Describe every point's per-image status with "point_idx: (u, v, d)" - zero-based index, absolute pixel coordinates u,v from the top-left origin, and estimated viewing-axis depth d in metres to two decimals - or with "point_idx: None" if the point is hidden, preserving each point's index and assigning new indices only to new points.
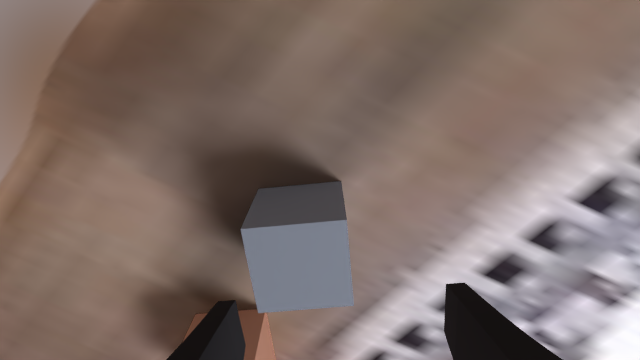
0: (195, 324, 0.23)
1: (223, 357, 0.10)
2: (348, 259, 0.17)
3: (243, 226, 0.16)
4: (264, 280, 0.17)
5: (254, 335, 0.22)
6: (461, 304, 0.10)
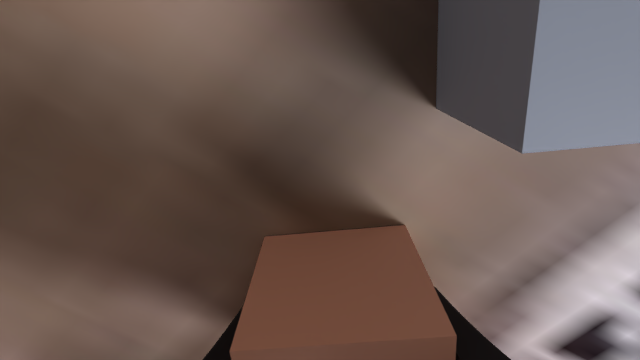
0: (269, 252, 0.11)
1: None
2: None
3: None
4: (578, 25, 0.05)
5: (411, 267, 0.10)
6: None
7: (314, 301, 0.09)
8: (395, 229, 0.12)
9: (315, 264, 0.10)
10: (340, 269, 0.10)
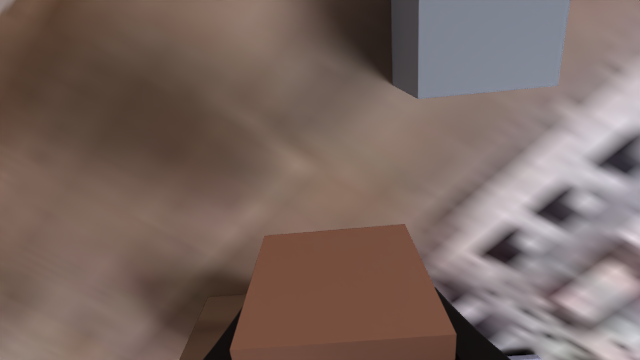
0: (269, 252, 0.11)
1: None
2: None
3: None
4: (436, 37, 0.12)
5: (411, 266, 0.10)
6: None
7: (314, 300, 0.09)
8: (395, 228, 0.12)
9: (315, 263, 0.10)
10: (340, 268, 0.10)
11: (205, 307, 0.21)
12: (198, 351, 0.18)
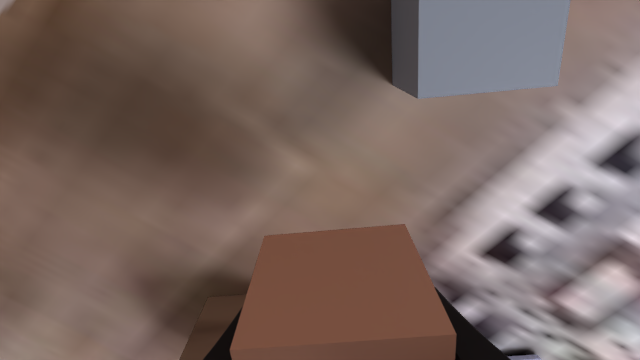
0: (269, 252, 0.11)
1: None
2: None
3: None
4: (436, 37, 0.12)
5: (411, 266, 0.10)
6: None
7: (314, 300, 0.09)
8: (395, 228, 0.12)
9: (315, 263, 0.10)
10: (340, 268, 0.10)
11: (205, 307, 0.21)
12: (198, 351, 0.18)
